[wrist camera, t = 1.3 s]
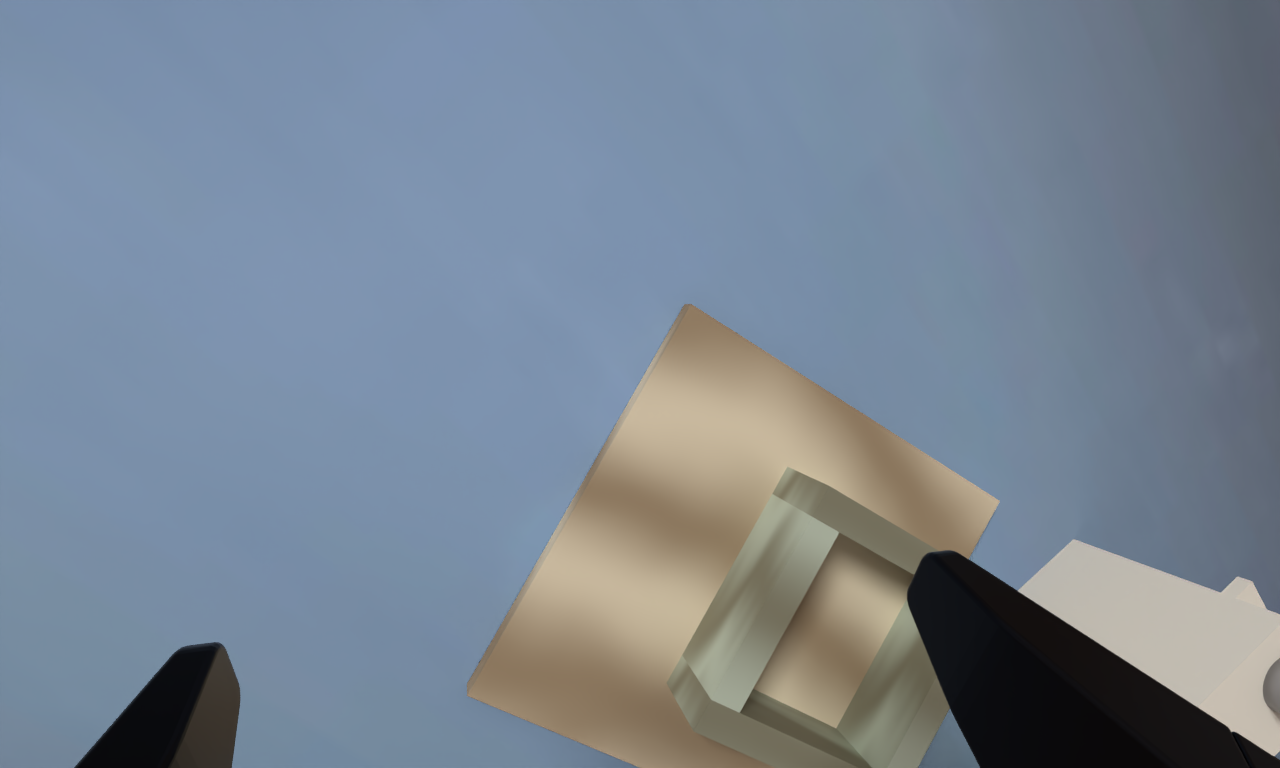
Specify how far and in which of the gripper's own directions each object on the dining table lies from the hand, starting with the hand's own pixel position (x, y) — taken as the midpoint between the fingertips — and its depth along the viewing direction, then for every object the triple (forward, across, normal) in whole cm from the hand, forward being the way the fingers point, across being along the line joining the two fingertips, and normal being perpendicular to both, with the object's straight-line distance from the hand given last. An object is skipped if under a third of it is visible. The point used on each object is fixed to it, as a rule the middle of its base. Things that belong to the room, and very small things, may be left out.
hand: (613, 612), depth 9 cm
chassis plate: (+11, -9, +14) cm, 20 cm away
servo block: (+10, -24, +17) cm, 31 cm away
